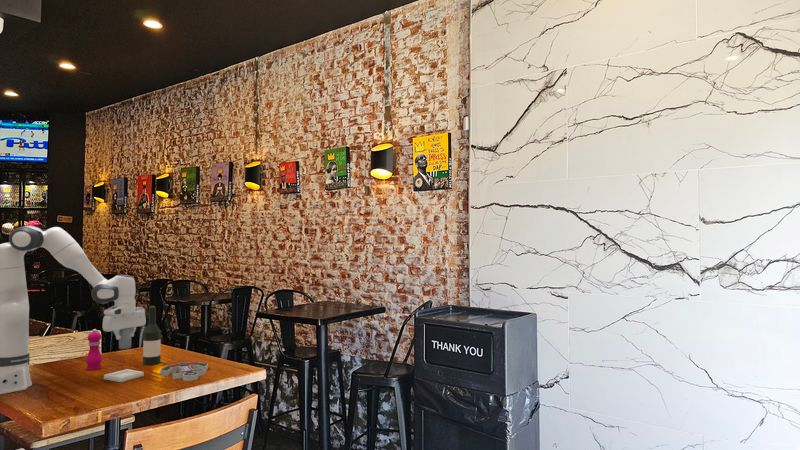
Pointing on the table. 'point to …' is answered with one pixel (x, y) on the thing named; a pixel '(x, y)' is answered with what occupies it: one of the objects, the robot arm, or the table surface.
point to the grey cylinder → (125, 338)
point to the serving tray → (123, 375)
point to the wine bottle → (152, 340)
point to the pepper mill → (94, 351)
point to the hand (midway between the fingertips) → (125, 338)
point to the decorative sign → (185, 370)
